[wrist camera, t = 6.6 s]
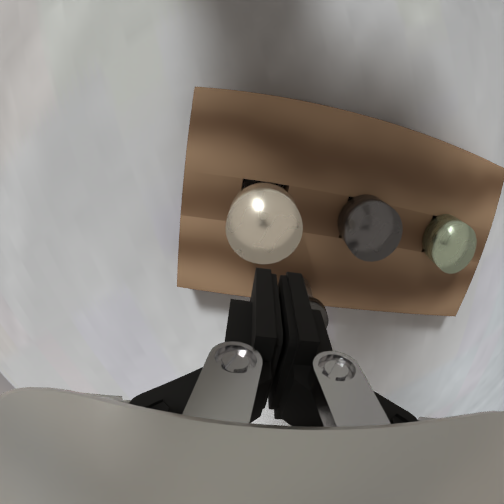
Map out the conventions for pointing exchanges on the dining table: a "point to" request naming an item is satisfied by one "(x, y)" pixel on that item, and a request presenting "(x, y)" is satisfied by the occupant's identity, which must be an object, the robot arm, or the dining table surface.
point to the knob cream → (263, 224)
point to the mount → (328, 199)
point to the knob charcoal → (369, 227)
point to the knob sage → (449, 243)
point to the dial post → (316, 303)
